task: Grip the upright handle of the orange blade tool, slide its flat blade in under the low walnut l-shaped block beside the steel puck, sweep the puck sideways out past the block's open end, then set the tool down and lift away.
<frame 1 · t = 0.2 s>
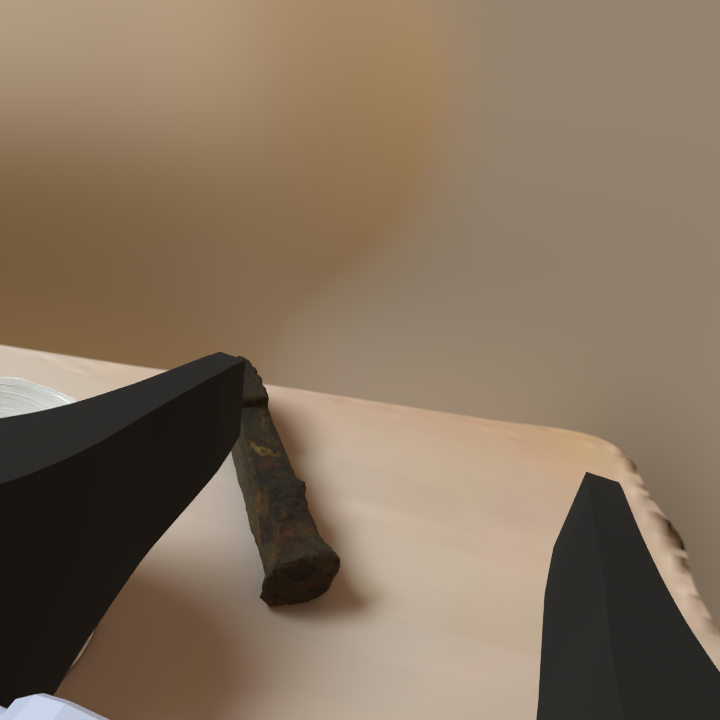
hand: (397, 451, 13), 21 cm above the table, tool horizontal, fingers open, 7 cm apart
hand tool: (247, 488, 42), on the table
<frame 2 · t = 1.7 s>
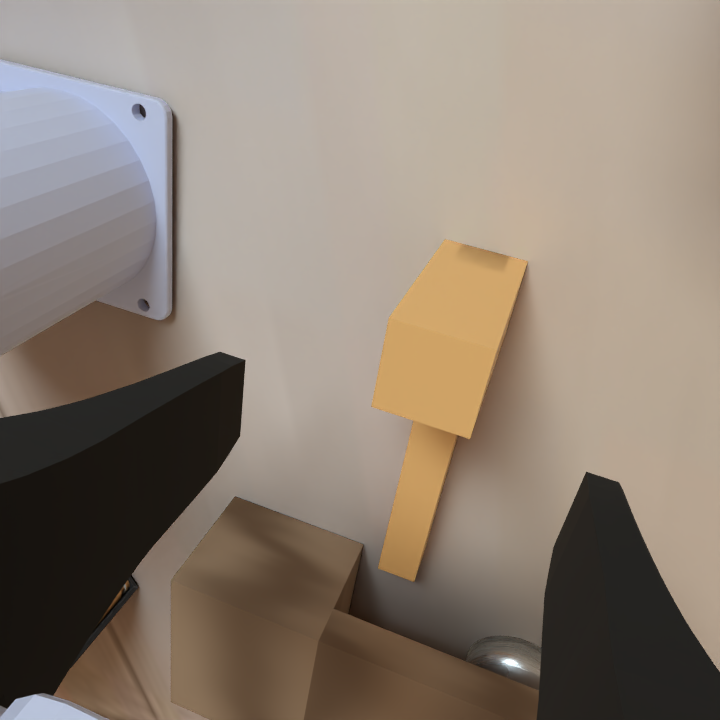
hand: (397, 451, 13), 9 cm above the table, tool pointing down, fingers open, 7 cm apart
walnut l-shaped block: (413, 631, 29), on the table
orange blade tool: (475, 288, 21), on the table
steel puck: (513, 665, 29), on the table
ammunition clip: (66, 577, 37), on the table
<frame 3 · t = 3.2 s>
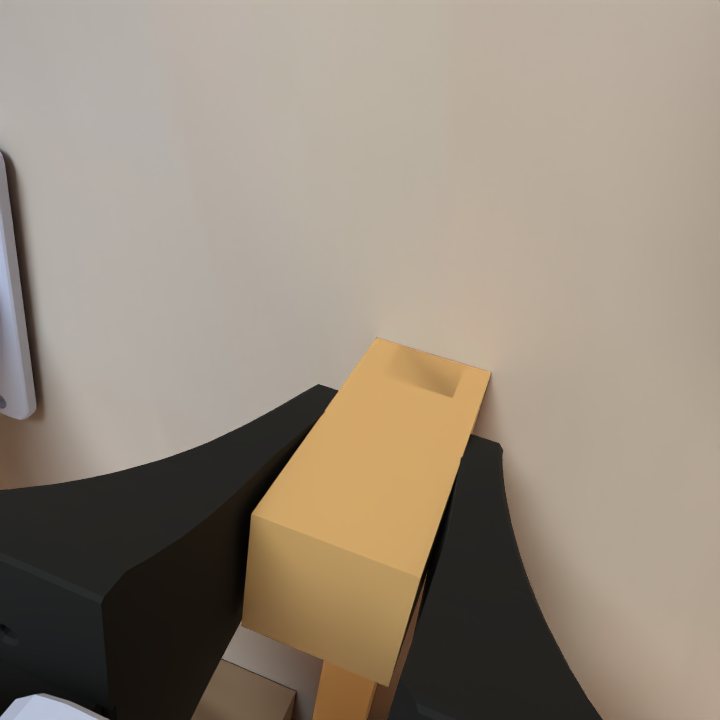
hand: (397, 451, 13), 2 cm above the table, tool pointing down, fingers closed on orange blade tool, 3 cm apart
orange blade tool: (420, 403, 15), on the table, touching gripper
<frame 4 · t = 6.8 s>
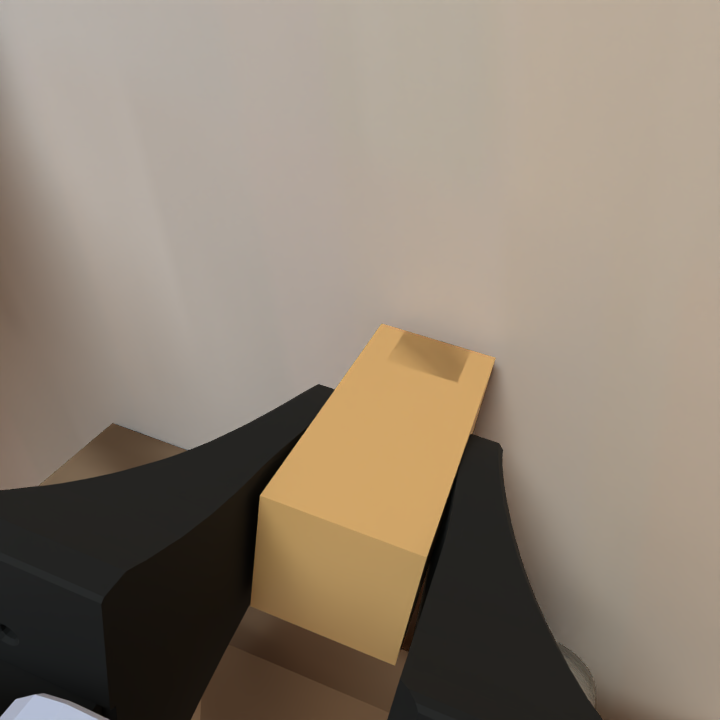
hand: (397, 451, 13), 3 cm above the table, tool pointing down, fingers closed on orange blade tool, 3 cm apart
walnut l-shaped block: (374, 621, 20), on the table
orange blade tool: (425, 388, 15), on the table, touching gripper
steel puck: (523, 672, 19), on the table
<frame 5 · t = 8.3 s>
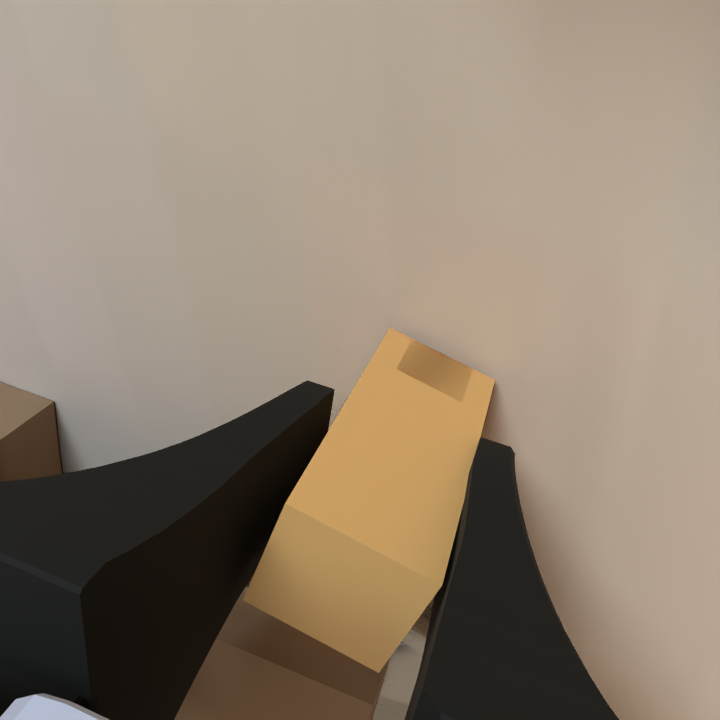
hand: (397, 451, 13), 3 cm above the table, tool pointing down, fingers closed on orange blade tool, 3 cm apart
walnut l-shaped block: (142, 528, 22), on the table
orange blade tool: (419, 396, 15), on the table, touching gripper
steel puck: (394, 638, 20), on the table
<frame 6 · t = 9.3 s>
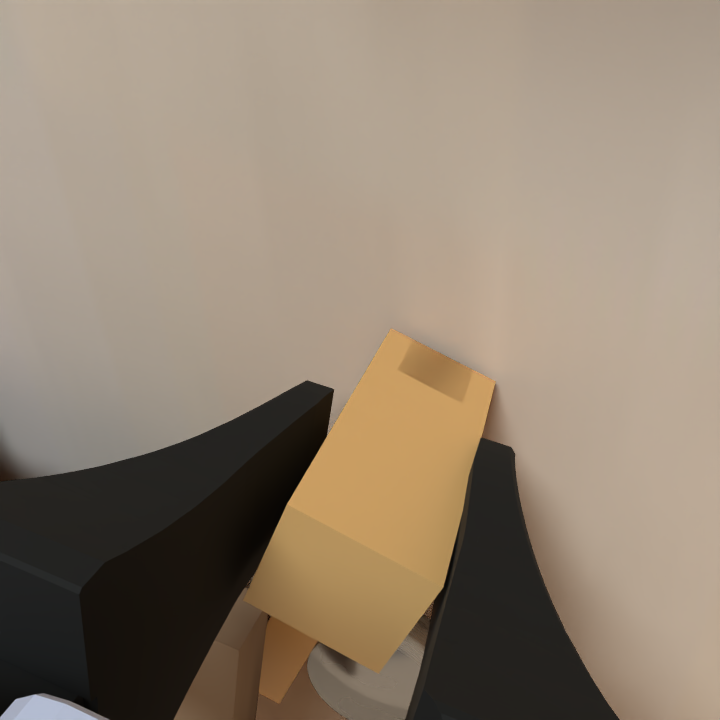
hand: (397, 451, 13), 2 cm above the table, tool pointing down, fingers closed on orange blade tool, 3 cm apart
walnut l-shaped block: (63, 498, 22), on the table
orange blade tool: (419, 396, 15), on the table, touching gripper, steel puck
steel puck: (388, 642, 20), on the table, touching orange blade tool
when the fingers open (2 cm above the table, at t = 10.4 s): orange blade tool stays where it is, on the table.
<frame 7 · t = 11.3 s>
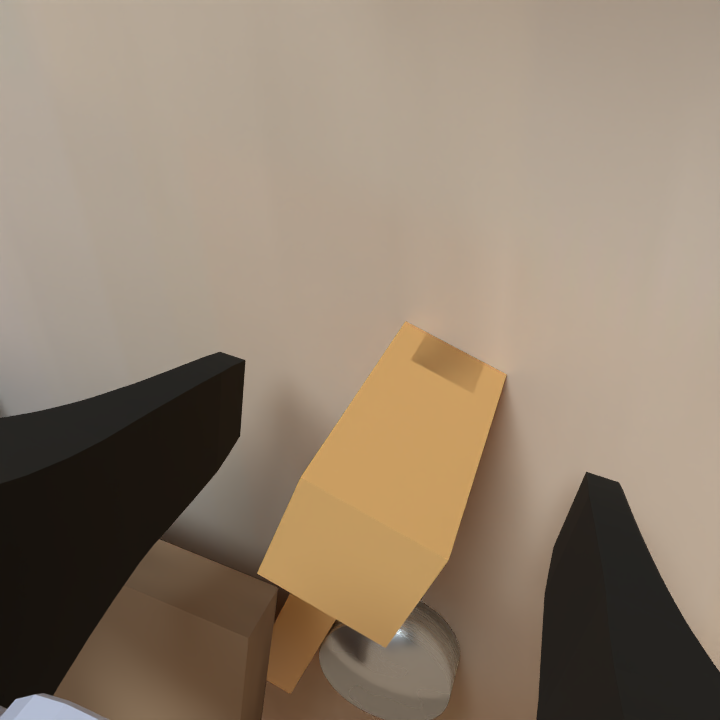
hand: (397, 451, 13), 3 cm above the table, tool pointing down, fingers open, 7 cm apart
walnut l-shaped block: (72, 492, 23), on the table
orange blade tool: (432, 389, 16), on the table
steel puck: (397, 632, 21), on the table
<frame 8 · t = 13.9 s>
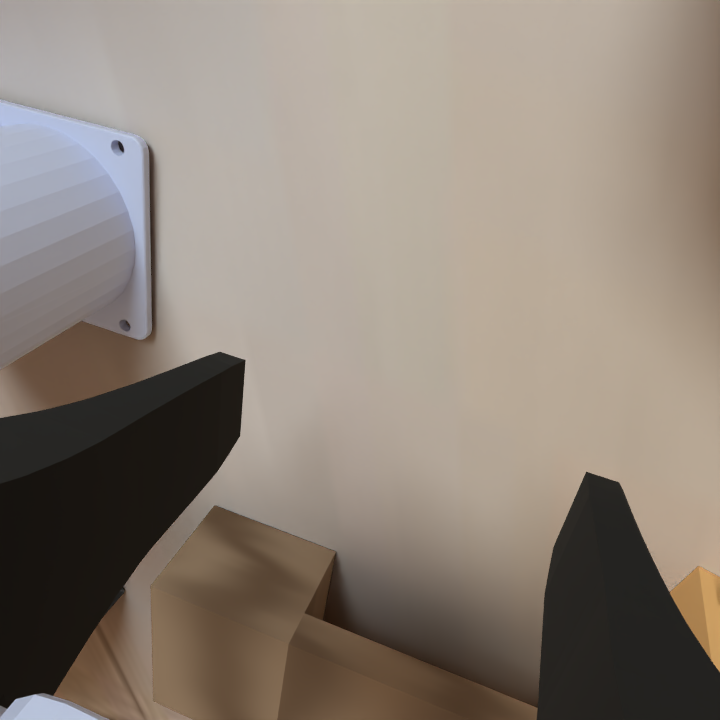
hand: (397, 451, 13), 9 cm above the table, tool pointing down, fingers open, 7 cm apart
walnut l-shaped block: (384, 634, 31), on the table
orange blade tool: (709, 604, 24), on the table
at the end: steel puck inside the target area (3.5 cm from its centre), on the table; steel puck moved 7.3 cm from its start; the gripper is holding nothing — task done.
